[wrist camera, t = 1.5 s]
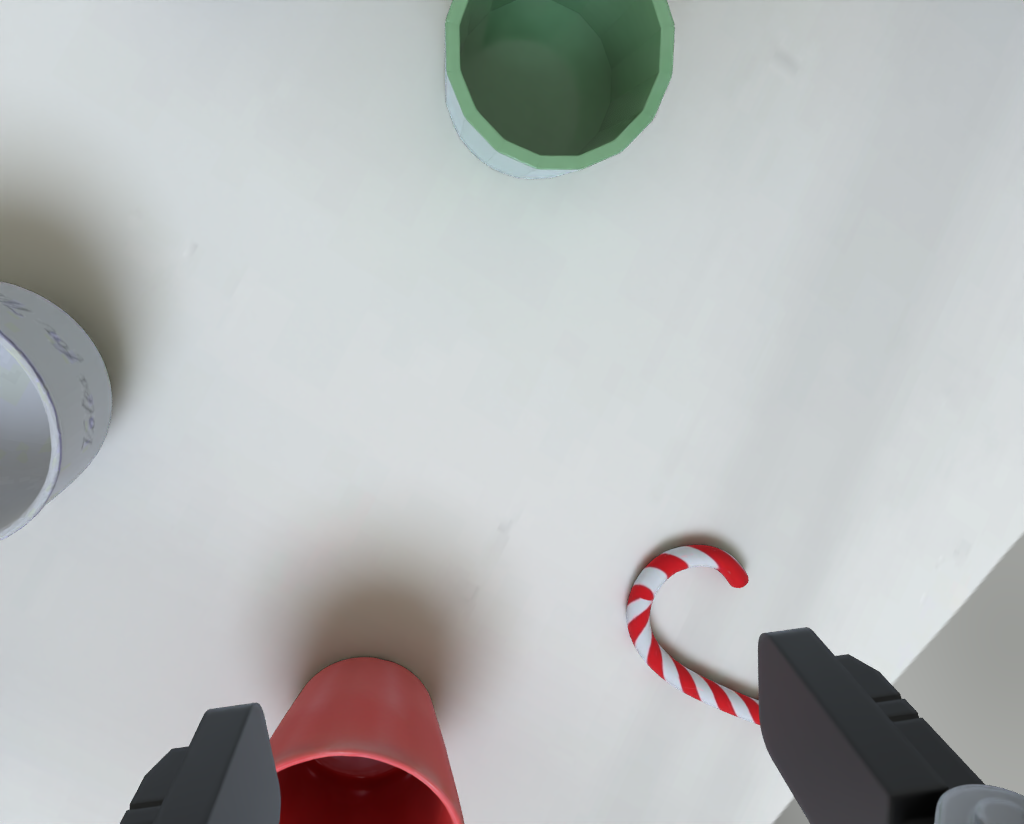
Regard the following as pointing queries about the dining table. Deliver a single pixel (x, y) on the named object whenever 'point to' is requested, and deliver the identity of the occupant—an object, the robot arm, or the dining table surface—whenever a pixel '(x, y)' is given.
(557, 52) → the cup
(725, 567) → the candy cane
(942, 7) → the dining table surface
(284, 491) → the dining table surface
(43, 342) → the teacup
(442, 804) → the flower pot
